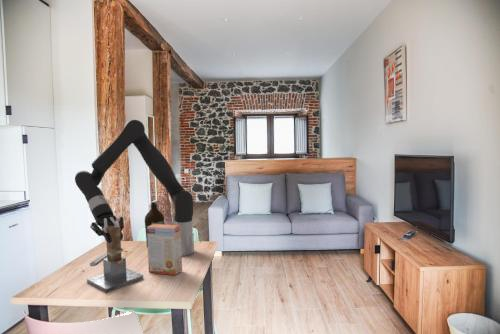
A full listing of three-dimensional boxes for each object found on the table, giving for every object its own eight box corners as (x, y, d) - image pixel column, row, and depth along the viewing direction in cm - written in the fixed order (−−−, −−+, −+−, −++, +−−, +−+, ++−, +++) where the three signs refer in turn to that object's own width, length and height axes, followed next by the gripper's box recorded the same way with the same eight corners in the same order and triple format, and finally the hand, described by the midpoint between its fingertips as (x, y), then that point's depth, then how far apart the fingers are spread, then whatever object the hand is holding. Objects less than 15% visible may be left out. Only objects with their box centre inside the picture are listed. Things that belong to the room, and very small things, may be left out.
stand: (123, 269, 141) (122, 249, 141) (143, 278, 131) (142, 256, 131) (87, 282, 129) (85, 260, 128) (106, 293, 119) (104, 268, 118)
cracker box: (182, 270, 139) (181, 224, 138) (175, 276, 133) (173, 228, 132) (156, 267, 144) (154, 223, 142) (148, 272, 138) (146, 226, 137)
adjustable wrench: (94, 267, 147) (93, 263, 147) (82, 266, 148) (81, 262, 148) (124, 249, 171) (124, 246, 171) (113, 249, 173) (113, 245, 172)
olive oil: (142, 245, 176) (140, 202, 174) (160, 241, 183) (158, 200, 181) (150, 250, 168) (148, 204, 166) (168, 245, 175) (166, 202, 174)
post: (117, 263, 132) (115, 224, 131) (122, 266, 130) (120, 226, 129) (107, 266, 129) (105, 226, 128) (112, 269, 127) (110, 228, 126)
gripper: (85, 205, 127) (101, 239, 120) (118, 200, 138) (135, 231, 131) (80, 216, 131) (95, 250, 124) (113, 210, 142) (128, 241, 135)
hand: (115, 240), depth 128 cm, fingers closed on post, 4 cm apart
